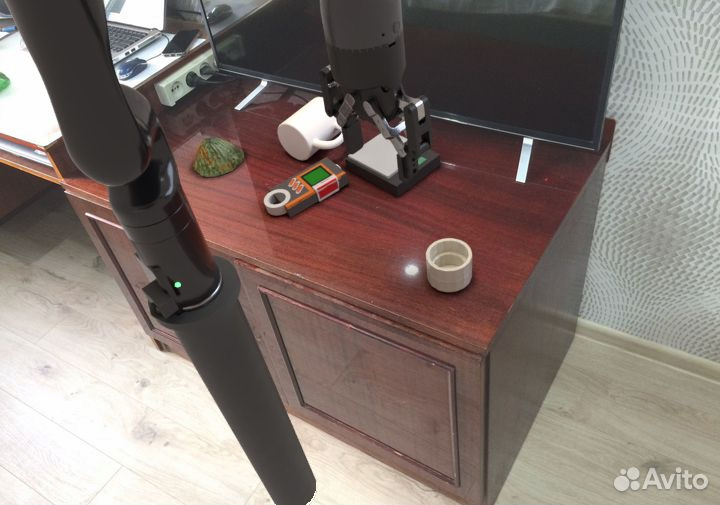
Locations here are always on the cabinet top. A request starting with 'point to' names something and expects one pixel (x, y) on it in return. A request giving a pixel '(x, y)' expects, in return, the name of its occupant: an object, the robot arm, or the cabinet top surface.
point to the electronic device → (305, 188)
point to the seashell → (216, 157)
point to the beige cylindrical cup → (449, 264)
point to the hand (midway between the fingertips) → (381, 163)
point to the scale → (388, 165)
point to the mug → (309, 131)
